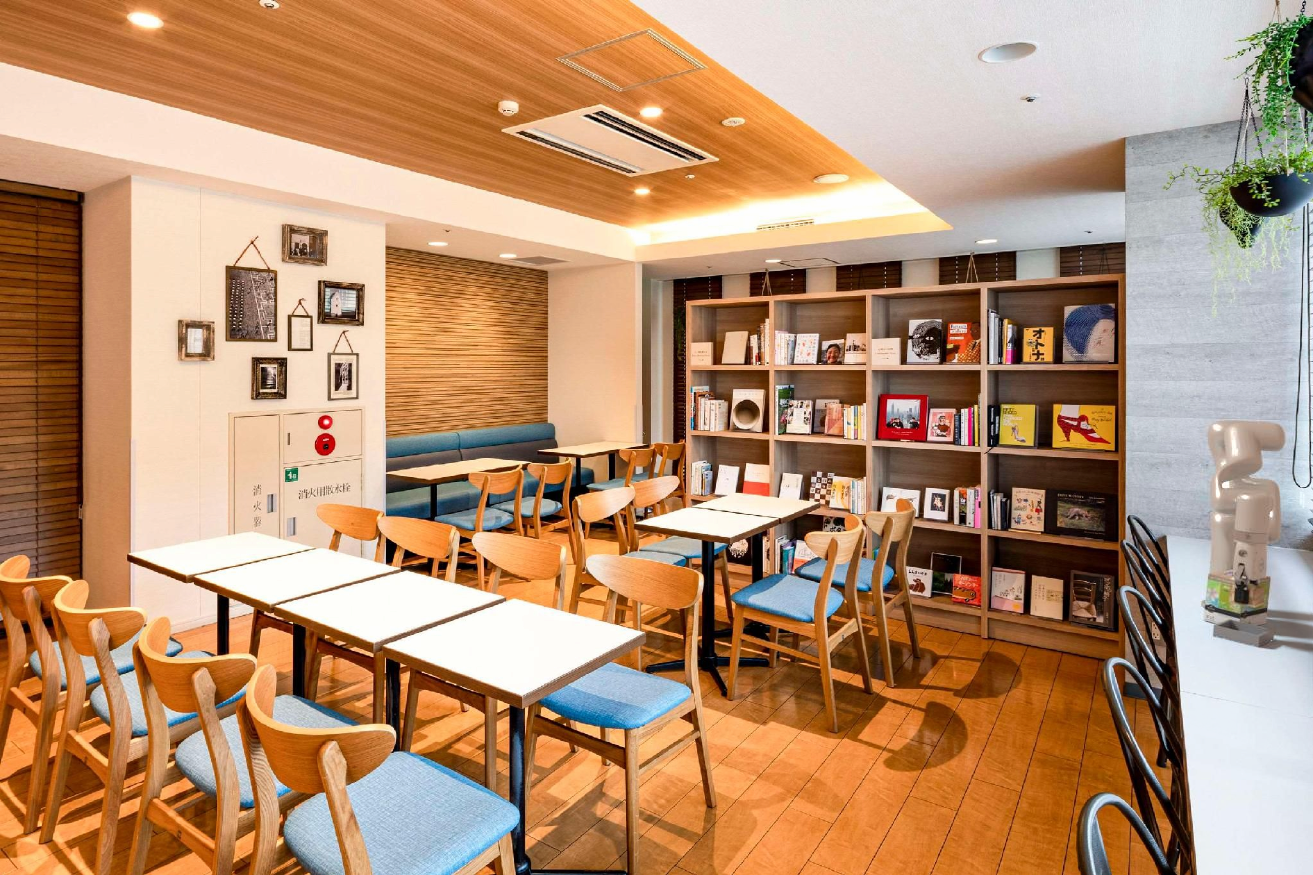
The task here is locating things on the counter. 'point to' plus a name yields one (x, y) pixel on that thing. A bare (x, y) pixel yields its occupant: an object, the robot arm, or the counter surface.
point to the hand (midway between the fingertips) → (1246, 600)
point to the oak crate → (1250, 595)
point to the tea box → (1223, 610)
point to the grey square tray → (1243, 632)
